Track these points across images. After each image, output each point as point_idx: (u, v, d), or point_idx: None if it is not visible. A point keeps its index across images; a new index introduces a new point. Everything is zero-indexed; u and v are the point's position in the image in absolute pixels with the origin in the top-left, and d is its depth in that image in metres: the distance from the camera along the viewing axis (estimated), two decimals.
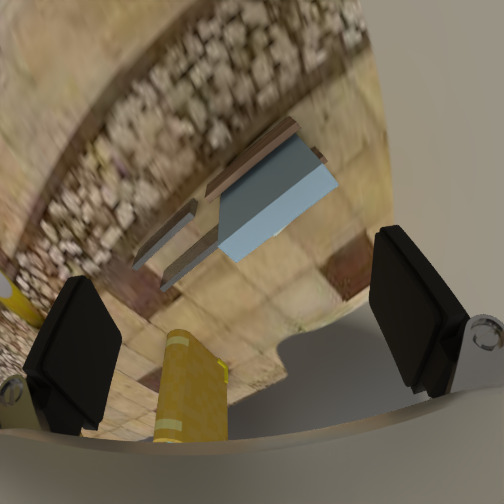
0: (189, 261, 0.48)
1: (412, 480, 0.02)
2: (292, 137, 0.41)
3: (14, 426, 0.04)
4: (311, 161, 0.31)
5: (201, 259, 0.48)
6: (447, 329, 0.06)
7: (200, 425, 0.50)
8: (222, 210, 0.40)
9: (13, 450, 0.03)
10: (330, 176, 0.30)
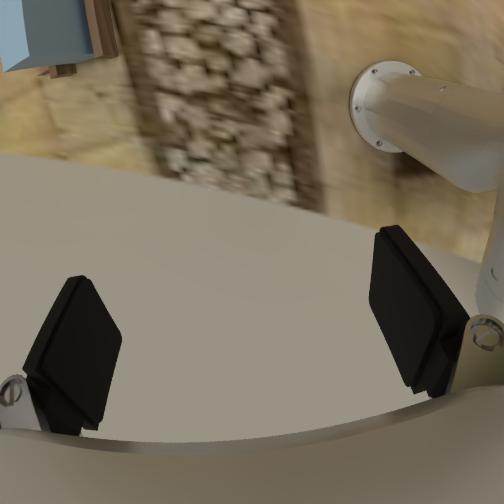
0: None
1: (412, 480, 0.02)
2: None
3: (14, 426, 0.04)
4: (41, 47, 0.16)
5: None
6: (447, 329, 0.06)
7: None
8: None
9: (13, 450, 0.03)
10: (14, 63, 0.15)
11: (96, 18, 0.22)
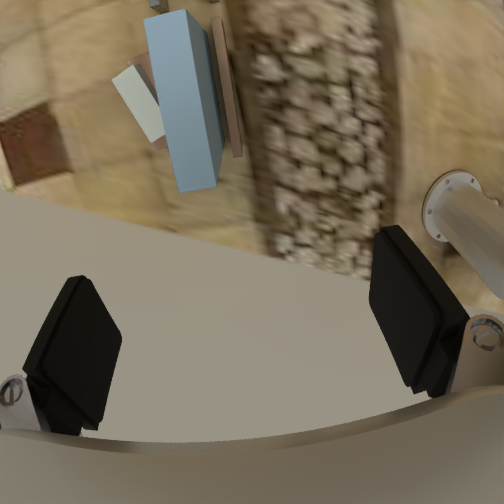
0: None
1: (412, 480, 0.02)
2: (222, 139, 0.34)
3: (14, 426, 0.04)
4: (216, 169, 0.25)
5: None
6: (447, 329, 0.06)
7: None
8: (199, 29, 0.23)
9: (13, 450, 0.03)
10: (195, 188, 0.24)
11: (235, 115, 0.31)
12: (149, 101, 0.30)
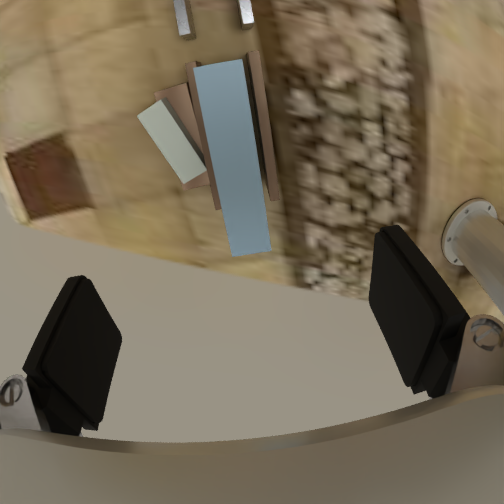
0: None
1: (412, 480, 0.02)
2: None
3: (14, 426, 0.05)
4: None
5: None
6: (447, 329, 0.06)
7: None
8: None
9: (13, 450, 0.03)
10: (249, 252, 0.24)
11: (274, 158, 0.31)
12: (180, 140, 0.30)
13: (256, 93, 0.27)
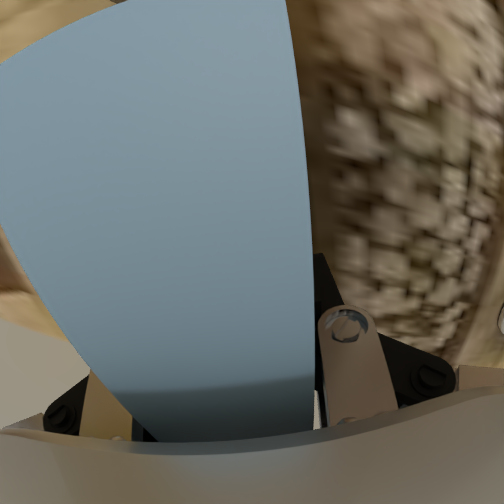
0: None
1: (412, 480, 0.02)
2: None
3: (102, 395, 0.05)
4: None
5: None
6: None
7: None
8: None
9: (13, 450, 0.03)
10: None
11: None
12: None
13: None
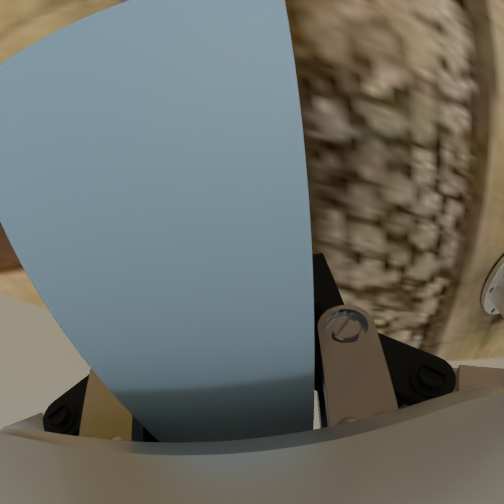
0: None
1: (412, 480, 0.02)
2: None
3: (102, 395, 0.05)
4: None
5: None
6: None
7: None
8: None
9: (13, 450, 0.03)
10: None
11: None
12: None
13: None
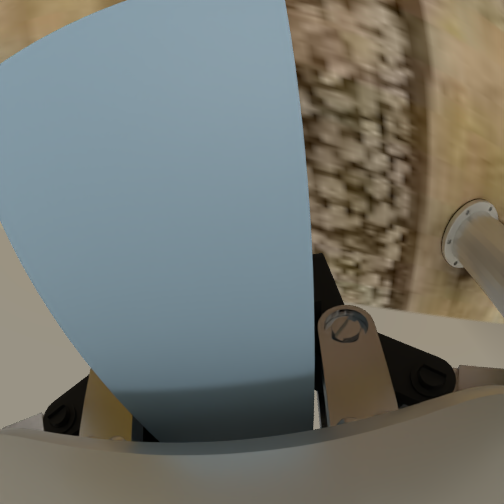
0: None
1: (412, 480, 0.02)
2: None
3: (102, 395, 0.05)
4: None
5: None
6: None
7: None
8: None
9: (13, 450, 0.03)
10: None
11: None
12: None
13: None
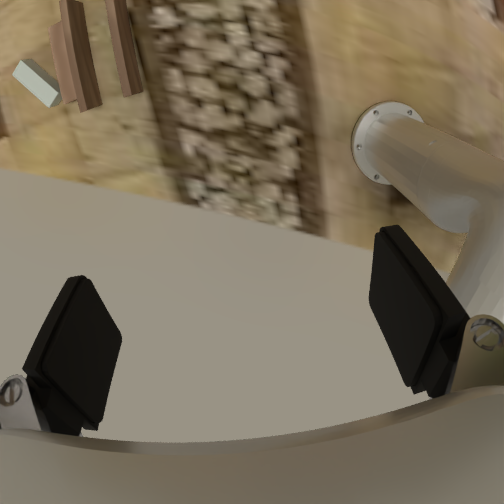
0: None
1: (412, 480, 0.02)
2: None
3: (14, 426, 0.04)
4: None
5: None
6: (447, 329, 0.06)
7: None
8: None
9: (13, 450, 0.03)
10: None
11: (124, 58, 0.28)
12: None
13: (107, 9, 0.24)
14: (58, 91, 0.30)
